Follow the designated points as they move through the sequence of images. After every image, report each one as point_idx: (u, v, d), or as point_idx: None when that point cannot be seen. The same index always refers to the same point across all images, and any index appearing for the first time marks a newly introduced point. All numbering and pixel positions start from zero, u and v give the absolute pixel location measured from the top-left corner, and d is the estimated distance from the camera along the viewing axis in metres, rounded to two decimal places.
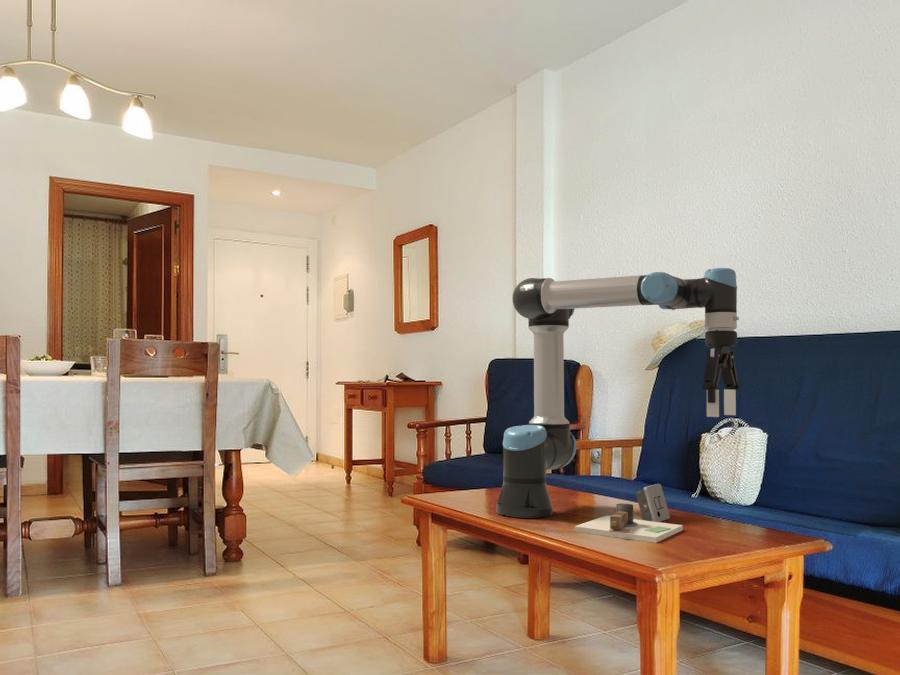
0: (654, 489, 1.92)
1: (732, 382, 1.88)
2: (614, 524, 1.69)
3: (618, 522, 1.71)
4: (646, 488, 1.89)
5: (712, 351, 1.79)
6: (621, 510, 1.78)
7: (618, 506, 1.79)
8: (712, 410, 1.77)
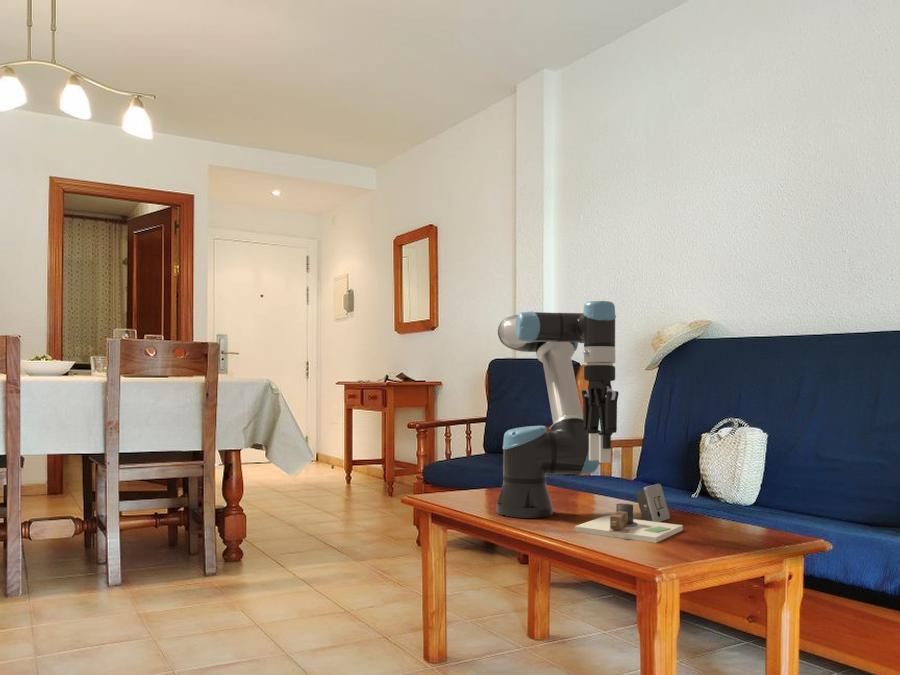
0: (654, 489, 1.92)
1: None
2: (614, 524, 1.69)
3: (618, 522, 1.71)
4: (646, 488, 1.89)
5: None
6: (621, 510, 1.78)
7: (618, 506, 1.79)
8: None
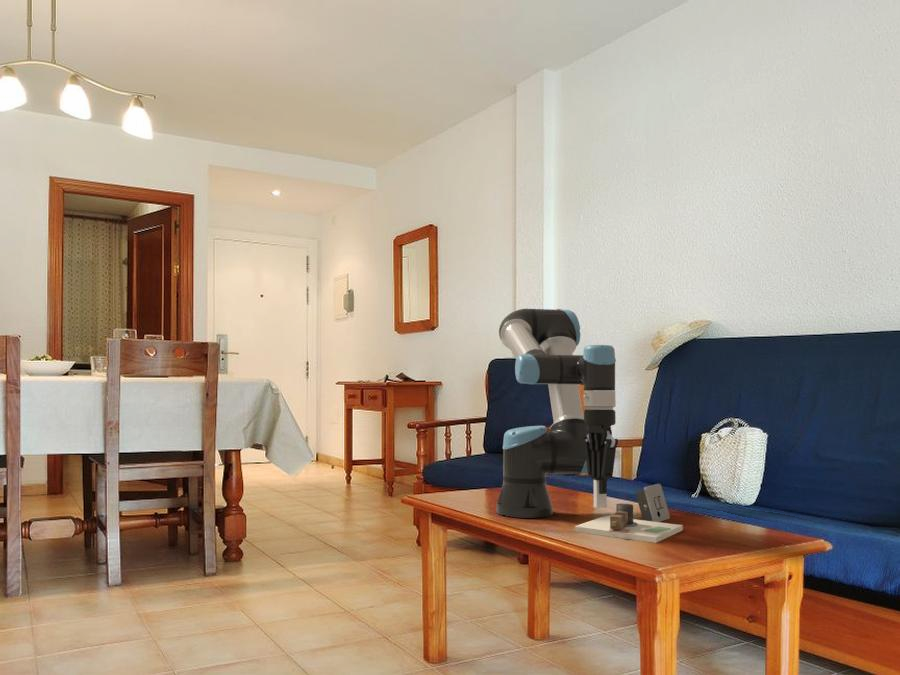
0: (654, 489, 1.92)
1: None
2: (614, 524, 1.69)
3: (618, 522, 1.71)
4: (646, 488, 1.89)
5: None
6: (621, 510, 1.78)
7: (618, 506, 1.79)
8: None
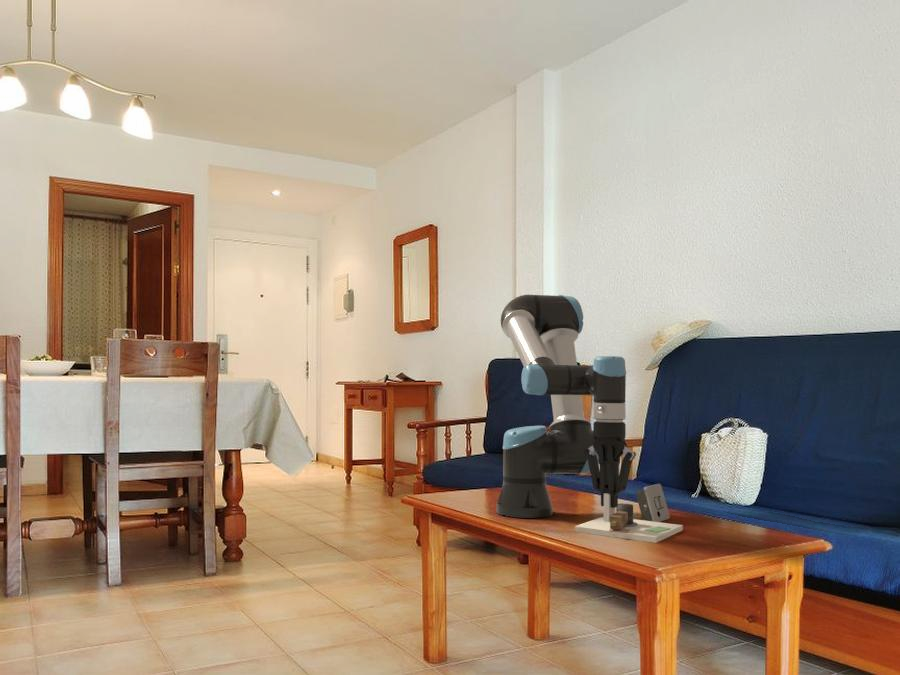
0: (654, 489, 1.92)
1: None
2: (614, 524, 1.69)
3: (618, 522, 1.71)
4: (646, 488, 1.89)
5: None
6: (621, 510, 1.78)
7: (618, 506, 1.79)
8: None
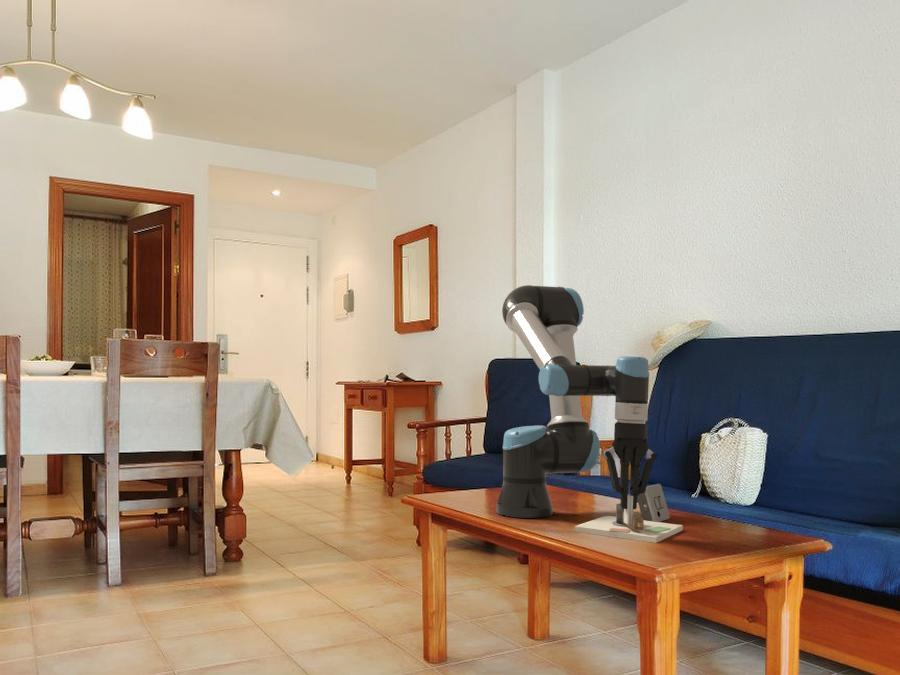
0: (654, 489, 1.92)
1: (632, 484, 1.72)
2: (642, 525, 1.68)
3: None
4: (646, 488, 1.89)
5: (604, 455, 1.73)
6: None
7: None
8: (625, 516, 1.73)
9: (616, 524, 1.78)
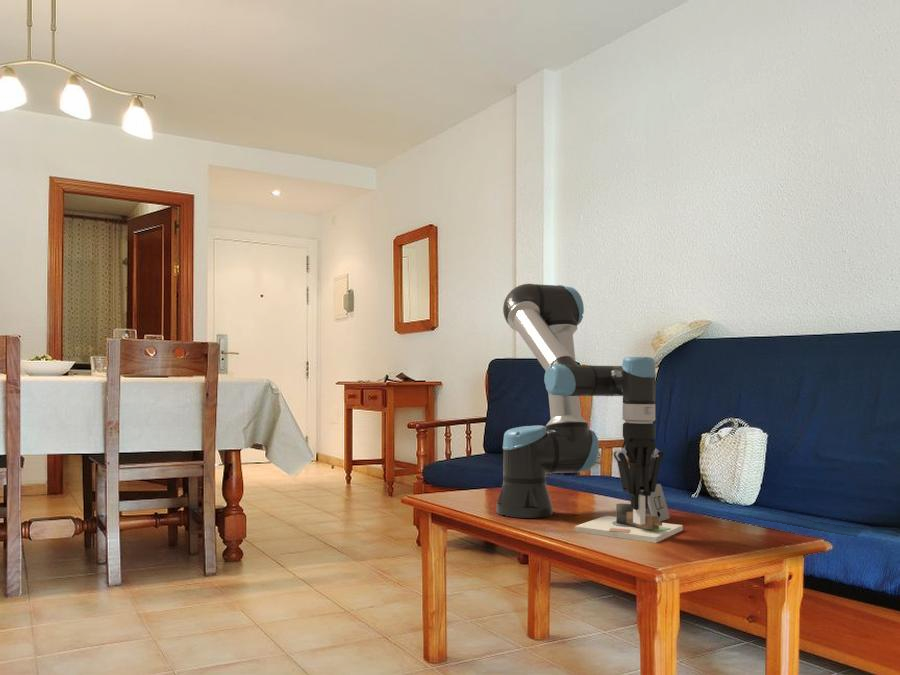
0: None
1: (644, 484, 1.73)
2: (661, 524, 1.70)
3: (658, 522, 1.72)
4: None
5: (617, 457, 1.72)
6: (629, 510, 1.78)
7: (625, 507, 1.78)
8: (636, 517, 1.73)
9: (616, 524, 1.78)
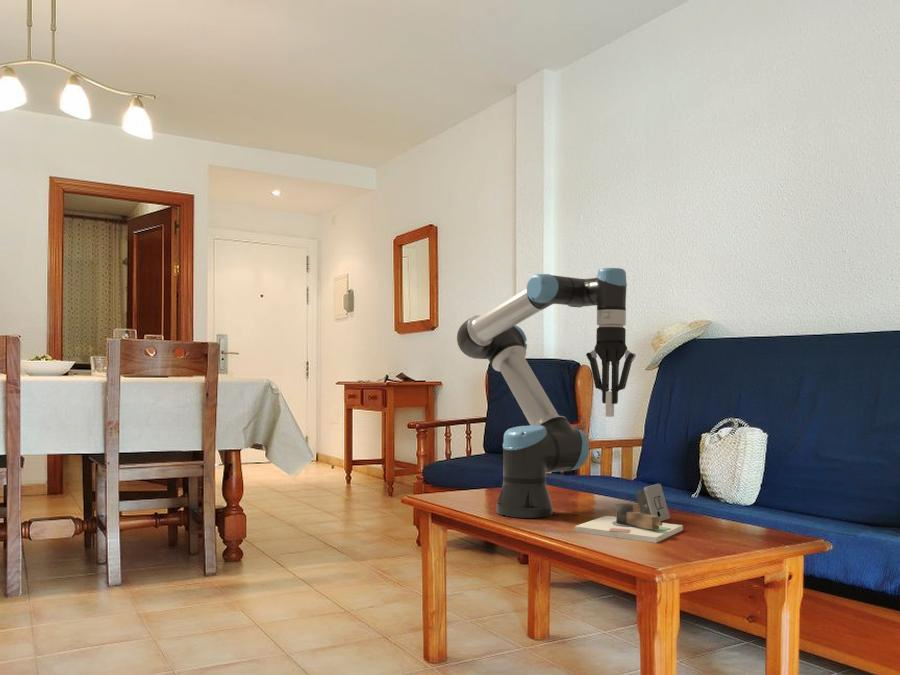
0: (654, 489, 1.92)
1: None
2: (661, 524, 1.70)
3: (658, 521, 1.72)
4: (646, 488, 1.89)
5: None
6: (629, 510, 1.78)
7: (625, 507, 1.78)
8: None
9: (616, 524, 1.78)
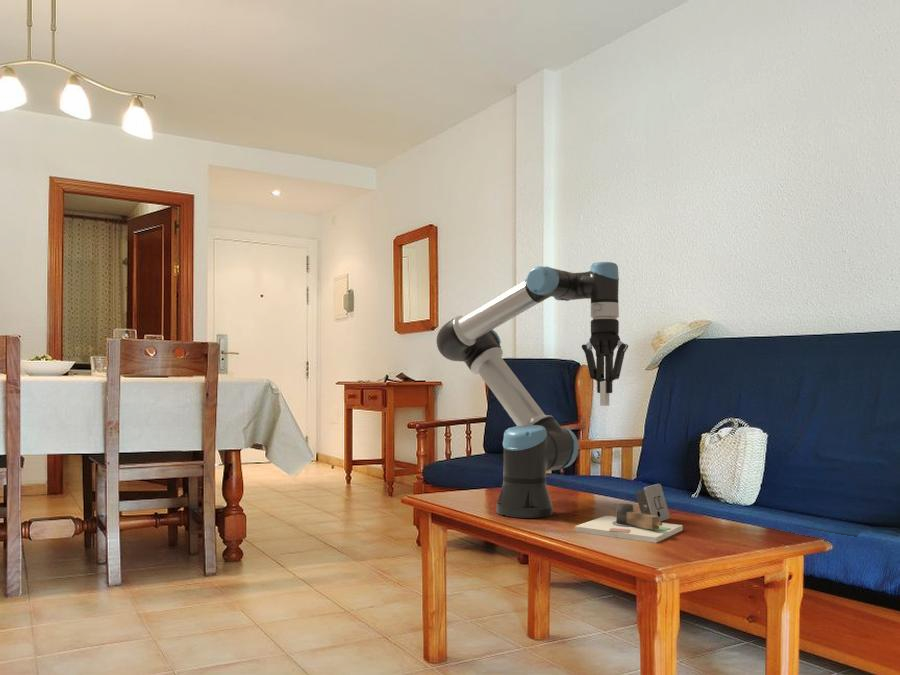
0: (654, 489, 1.92)
1: None
2: (661, 524, 1.70)
3: (658, 521, 1.72)
4: (646, 488, 1.89)
5: None
6: (629, 510, 1.78)
7: (625, 507, 1.78)
8: None
9: (616, 524, 1.78)
